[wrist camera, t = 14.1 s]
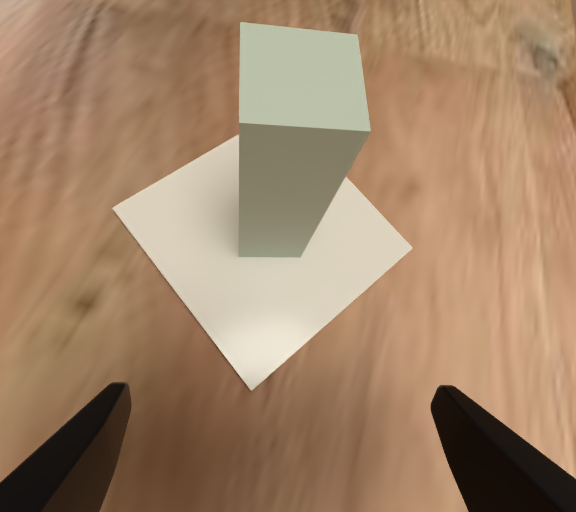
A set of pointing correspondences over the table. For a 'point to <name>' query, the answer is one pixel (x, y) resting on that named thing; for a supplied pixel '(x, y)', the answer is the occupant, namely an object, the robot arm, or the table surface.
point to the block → (295, 132)
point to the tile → (256, 261)
